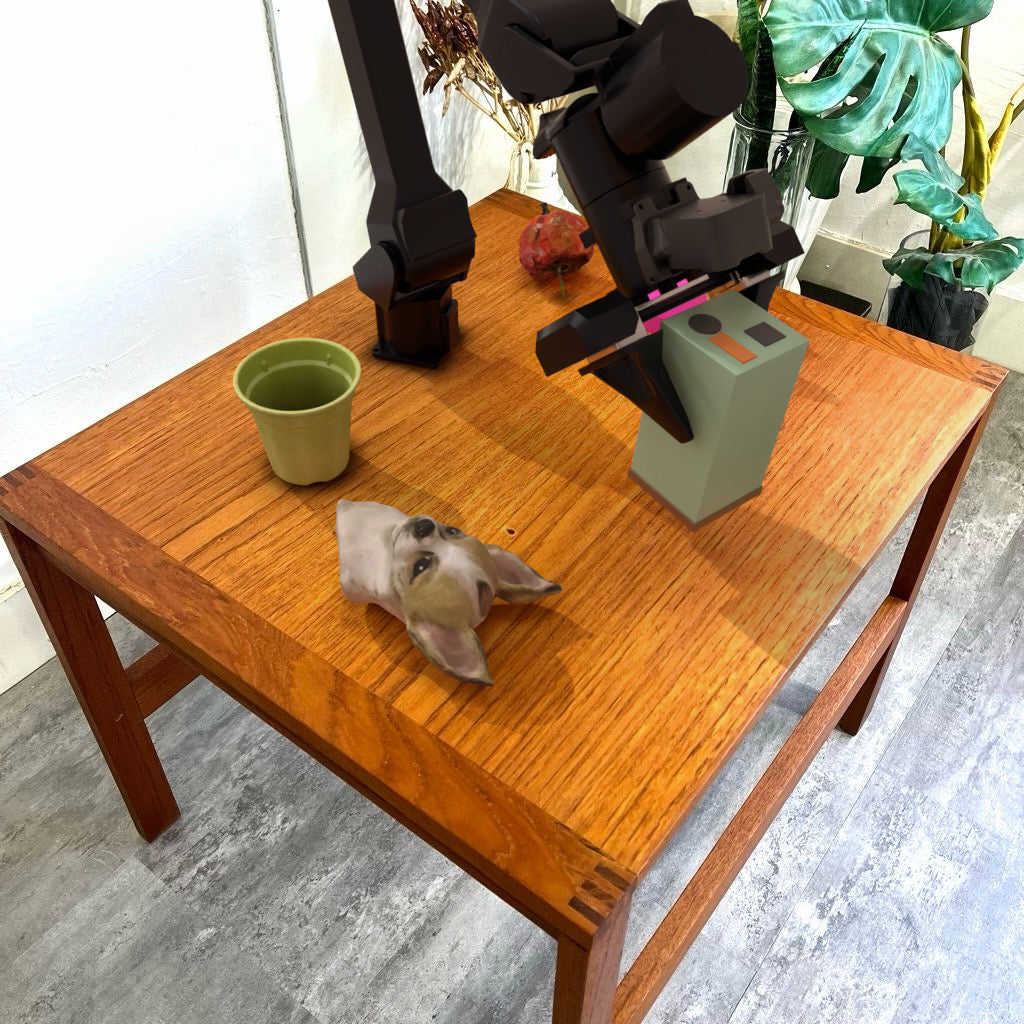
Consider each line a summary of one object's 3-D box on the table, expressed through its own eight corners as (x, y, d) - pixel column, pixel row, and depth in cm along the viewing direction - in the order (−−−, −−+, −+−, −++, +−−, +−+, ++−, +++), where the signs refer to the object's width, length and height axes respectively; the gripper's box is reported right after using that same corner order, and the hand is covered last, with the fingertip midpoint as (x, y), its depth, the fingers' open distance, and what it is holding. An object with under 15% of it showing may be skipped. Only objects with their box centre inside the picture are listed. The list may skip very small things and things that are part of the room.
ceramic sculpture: (383, 437, 71) (576, 524, 66) (387, 524, 77) (563, 609, 72) (284, 532, 64) (490, 635, 59) (297, 618, 70) (485, 719, 65)
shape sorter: (625, 475, 71) (657, 318, 62) (693, 440, 74) (733, 285, 65) (693, 533, 68) (737, 375, 59) (760, 494, 71) (813, 338, 62)
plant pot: (392, 444, 84) (384, 356, 78) (330, 515, 78) (316, 426, 72) (295, 413, 87) (280, 326, 81) (228, 480, 81) (206, 391, 75)
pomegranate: (598, 307, 103) (587, 214, 105) (601, 280, 96) (589, 180, 98) (525, 315, 104) (515, 222, 105) (522, 289, 96) (511, 189, 98)
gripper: (576, 179, 52) (704, 456, 54) (813, 92, 61) (917, 333, 62) (483, 255, 62) (593, 487, 64) (698, 171, 71) (790, 377, 72)
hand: (728, 419), depth 65 cm, fingers closed on shape sorter, 7 cm apart
